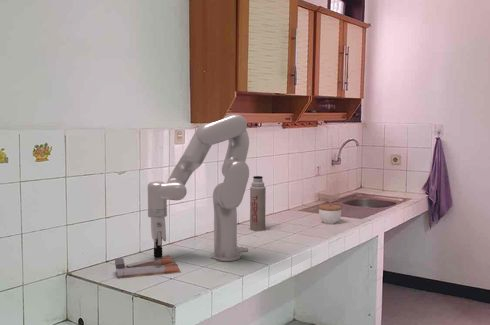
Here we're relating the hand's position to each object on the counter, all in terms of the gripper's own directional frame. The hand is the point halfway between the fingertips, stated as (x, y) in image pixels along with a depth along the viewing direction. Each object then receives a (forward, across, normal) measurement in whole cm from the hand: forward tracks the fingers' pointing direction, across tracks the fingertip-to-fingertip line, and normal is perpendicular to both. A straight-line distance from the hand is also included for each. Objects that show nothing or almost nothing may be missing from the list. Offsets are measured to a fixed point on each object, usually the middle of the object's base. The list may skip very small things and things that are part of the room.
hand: (158, 257), depth 202 cm
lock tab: (-2, -15, +16) cm, 22 cm away
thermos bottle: (+3, +44, -58) cm, 73 cm away
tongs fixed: (+1, -14, +6) cm, 15 cm away
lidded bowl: (+3, +48, -102) cm, 113 cm away
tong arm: (+1, -8, +4) cm, 10 cm away
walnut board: (+2, -12, +5) cm, 13 cm away
